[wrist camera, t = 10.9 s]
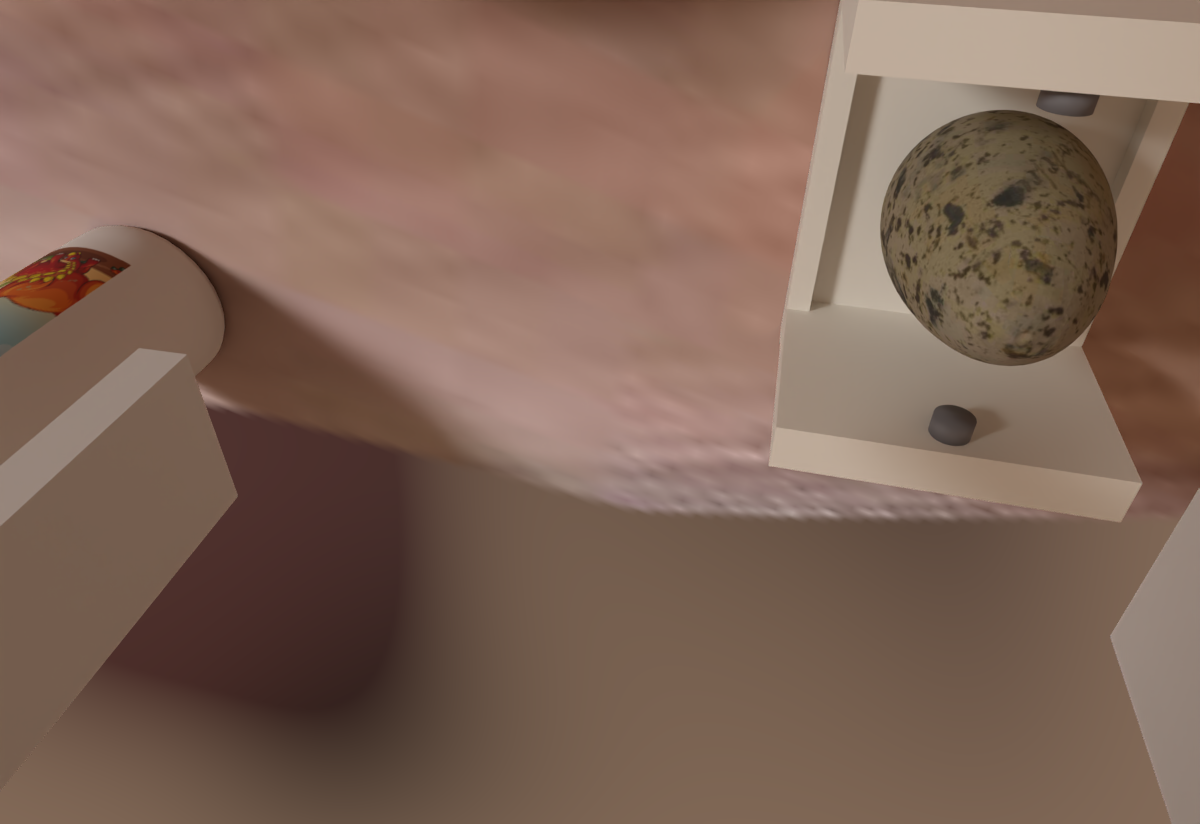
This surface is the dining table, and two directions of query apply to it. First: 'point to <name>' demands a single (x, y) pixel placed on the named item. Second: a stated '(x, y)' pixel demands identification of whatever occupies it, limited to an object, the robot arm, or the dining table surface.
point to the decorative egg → (1001, 236)
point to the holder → (863, 286)
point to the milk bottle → (96, 322)
